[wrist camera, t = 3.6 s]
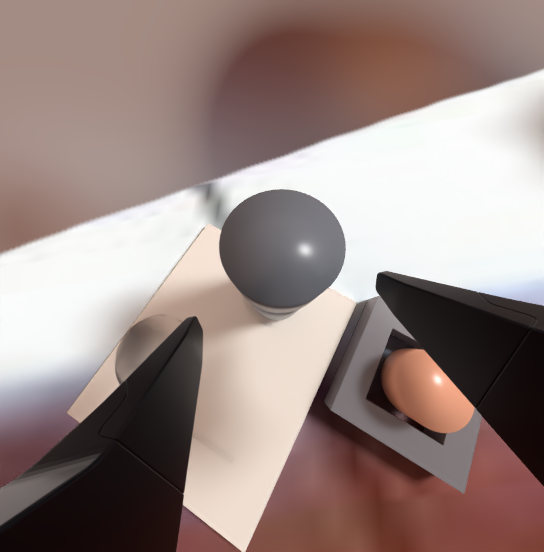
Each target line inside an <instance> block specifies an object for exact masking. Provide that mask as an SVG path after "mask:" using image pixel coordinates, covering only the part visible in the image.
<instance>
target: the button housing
mask: <svg viewBox="0 0 544 552" xmlns="http://www.w3.org/2000/svg"><path fill="white" fill-rule="evenodd" d="M390 334H391V335H393V336H394V337H396V338H398V339H400V340H402V341H404V342H405V343H407V344H409V345H411V346H413V347H415V348H417V349H421V350H424V349H423V348H422V347H421V346H420V345H419V344H418V342H417V341H416V340H415V339H414V338H413V337H412V336H411V334H410V333H409V332H408V331H407V330H406V329H405V328H404V326H403V325H402V324H401V323H400V322H399V321H398V320H397V318H396V317H395V316H394V315H393V313H392V312H391V311H390V309H389V308H388V307H387V305H386V304H385V302H384V301H383V299H382V298H381V297H380V296H377V297H374V298H372V299H369V300H368V301H367V303H366V305H365V308H364V310H363V312H362V315H361V317H360V319H359V322H358V324H357V326H356V328H355V331H354V333H353V335H352V338H351V340H350V342H349V345H348V347H347V349H346V351H345V354H344V356H343V358H342V361H341V363H340V365H339V367H338V370H337V372H336V374H335V377H334V379H333V381H332V384H331V386H330V388H329V390H328V393H327V395H326V397H325V400H324V402H325V404H326V405H327V406H328V407H329V409H330V410H331V411H333V412H334V413H336V414H337V415H339V416H341V417H342V418H344V419H345V420H347V421H349V422H350V423H352V424H353V425H355V426H357V427H358V428H360V429H361V430H363V431H365V432H366V433H368V434H369V435H371V436H373V437H374V438H376V439H377V440H379V441H381V442H382V443H384V444H385V445H387V446H388V447H390V448H392V449H393V450H395V451H396V452H398V453H400V454H401V455H403V456H404V457H406V458H408V459H409V460H411V461H412V462H414V463H416V464H417V465H419V466H420V467H422V468H424V469H425V470H427V471H428V472H430V473H432V474H433V475H435V476H436V477H438V478H440V479H441V480H443V481H444V482H446V483H448V484H449V485H451V486H452V487H454V488H456V489H457V490H459V491H460V492H462V493H464V492H465V488H466V484H467V479H468V475H469V471H470V467H471V462H472V458H473V454H474V449H475V445H476V441H477V436H478V432H479V428H480V424H481V419H482V416H481V414H480V413H479V412H478V411H477V410H476V408H474V412H473V415H472V417H471V419H470V421H469V422H468V424H467V425H466V426H465V427H463V428H462V429H460V430H458V431H456V432H452V433H439V432H435V431H432V430H430V429H428V428H426V427H424V430H423V432H422V431H420V430H418V429H417V428H415V427H413V426H412V425H410V424H408V423H407V422H405V421H403V420H402V419H400V418H398V417H397V416H395V415H393V414H392V413H390V412H388V411H387V410H385V409H383V408H382V407H380V406H378V405H377V404H375V403H373V402H372V401H370V400H368V399H367V398H366V396H367V394H368V391H369V388H370V386H371V383H372V381H373V378H374V375H375V373H376V370H377V368H378V365H379V362H380V360H381V357H382V355H383V352H384V349H385V347H386V344H387V342H388V339H389V336H390Z"/></svg>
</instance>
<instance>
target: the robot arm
mask: <svg viewBox="0 0 544 552" xmlns="http://www.w3.org/2000/svg"><path fill="white" fill-rule="evenodd" d="M376 291H377V292H378V294H379V295H380V297H381V298H382V299H383V301H384V302H385V304H386V305H387V307H388V308H389V309H390V311H391V312H392V313H393V315H394V316H395V317H396V318H397V320H398V321H399V322H400V323H401V324H402V325H403V326H404V328H405V329H406V330H407V331H408V332H409V333H410V334H411V336H412V337H413V338H414V339H415V340H416V341H417V342H418V344H419V345H420V346H421V347H422V348H423V349H424V350H425V352H426V353H427V354H428V355H429V356H430V357H431V358H432V360H433V361H434V362H435V363H436V364H437V365H438V366H439V367H440V369H441V370H442V371H443V372H444V373H445V374H446V375H447V377H448V378H449V379H450V380H451V381H452V382H453V383H454V385H455V386H456V387H457V388H458V389H459V390H460V391H461V393H462V394H463V395H464V396H465V397H466V398H467V399H468V401H469V402H470V403H471V404H472V405H473V406H474V407H475V408H476V410H477V411H478V412H479V413H480V414H481V416H482V417H483V418H484V419H485V420H486V421H487V422H488V424H489V425H490V426H491V427H492V428H493V429H494V430H495V432H496V433H497V434H498V435H499V436H500V437H501V438H502V440H503V441H504V442H505V443H506V444H507V445H508V446H509V448H510V449H511V450H512V451H513V452H514V453H515V454H516V456H517V457H518V458H519V459H520V460H521V461H522V462H523V463H524V465H525V466H526V467H527V468H528V469H529V470H530V471H531V473H532V474H533V475H534V476H535V477H536V478H537V479H538V481H539V482H540V483H541V484H542V485H543V486H544V306H542V305H537V304H532V303H527V302H522V301H517V300H512V299H507V298H503V297H498V296H493V295H489V294H485V293H480V292H479V293H478V292H476V291H471V290H467V289H463V288H458V287H454V286H450V285H445V284H441V283H436V282H432V281H428V280H423V279H419V278H415V277H410V276H406V275H402V274H397V273H393V272H388V271H384V272H380V273H378V274H377V279H376ZM202 361H203V329H202V327H201V325H200V323H199V320H198V318H197V317H196V316H192V317H188V318H186V319H185V320H184V321H183V322H182V323H181V324H180V325H179V326H178V327H177V328H176V329H175V330H174V331H173V332H172V333H171V334H170V335H169V336H168V337H167V338H166V339H165V340H164V341H163V342H162V343H161V344H160V345H159V346H158V347H157V348H156V349H155V350H154V351H153V352H152V353H151V354H150V355H149V356H148V357H147V358H146V359H145V360H144V361H143V362H142V363H141V364H140V365H139V366H138V367H137V368H136V369H135V370H134V371H133V372H132V373H131V374H130V375H129V376H128V378H127V379H126V381H123V382H122V384H121V385H120V386H119V387H118V388H117V389H116V390H115V391H114V392H113V393H112V394H110V395H109V396H108V397H107V398H106V399H105V400H104V401H103V402H102V403H101V404H100V405H99V406H98V407H97V408H96V409H95V410H94V411H93V412H92V413H91V414H89V415H88V416H87V417H86V418H85V419H84V420H83V421H82V422H81V423H80V424H79V425H77V426H76V427H75V428H74V429H73V430H72V431H71V432H70V433H69V434H68V435H66V436H65V437H64V438H63V439H62V440H61V441H60V442H59V443H58V444H57V445H55V446H54V447H53V448H52V449H51V450H50V451H49V452H48V453H47V454H46V455H44V456H43V457H42V458H41V459H40V460H39V461H38V462H37V463H35V464H34V465H33V466H32V467H31V468H29V469H28V470H27V471H26V472H24V473H23V474H22V475H20V476H19V477H17V478H16V479H14V480H13V481H11V482H10V483H8V484H7V485H5V486H3V487H2V488H0V552H176V549H177V542H178V534H179V527H180V520H181V513H182V506H183V499H184V494H183V493H184V491H185V484H186V477H187V470H188V463H189V456H190V448H191V441H192V434H193V427H194V420H195V413H196V406H197V399H198V392H199V385H200V378H201V371H202Z"/></svg>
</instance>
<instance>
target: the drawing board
mask: <svg viewBox="0 0 544 552" xmlns="http://www.w3.org/2000/svg"><path fill="white" fill-rule="evenodd" d="M220 234H221V230H220V229H218V228H216V227H214V226H212V225H210V224H207V226H206V227H205V228H204V230H203V231H202V232H201V234H200V235H199V236H198V238H197V239H196V240H195V242H194V243H193V244H192V246H191V247H190V248H189V250H188V251H187V252H186V254H185V255H184V256H183V258H182V259H181V260H180V262H179V263H178V264H177V266H176V267H175V268H174V270H173V271H172V272H171V274H170V275H169V276H168V278H167V279H166V280H165V282H164V283H163V284H162V286H161V287H160V288H159V290H158V291H157V292H156V294H155V295H154V296H153V298H152V299H151V300H150V302H149V303H148V305H147V306H146V307H145V309H144V310H143V311H142V313H141V314H140V315H139V317H138V318H137V319H136V321H135V322H134V323H133V325H132V326H131V327H130V329H129V330H128V331H127V333H126V334H125V335H124V337H123V338H122V339H121V341H120V342H119V343H118V345H117V346H116V347H115V349H114V350H113V351H112V353H111V354H110V355H109V357H108V358H107V359H106V361H105V362H104V363H103V365H102V366H101V367H100V369H99V370H98V371H97V373H96V374H95V375H94V377H93V378H92V379H91V381H90V382H89V384H88V385H87V386H86V388H85V389H84V390H83V392H82V393H81V394H80V396H79V397H78V398H77V400H76V401H75V402H74V404H73V405H72V406H71V408H70V409H69V410H68V412H67V413H68V414H69V415H70V416H71V417H73V418H74V419H75V420H76V421H78V422H79V423H81V422H82V421H83V420H84V419H85V418H86V417H87V416H88V415H89V414H91V413H92V412H93V411H94V410H95V409H96V408H97V407H98V406H99V405H100V404H101V403H102V402H103V401H104V400H105V399H106V398H107V397H108V396H109V395H110V394H112V393H113V392H114V391H115V390H116V389H117V388H118V387H119V386H120V385H121V384H122V382H123V381H126V379H127V378H128V376H129V375H130V374H131V373H132V372H133V371H134V370H135V369H136V368H137V367H138V366H139V365H140V364H141V363H142V362H143V361H144V360H145V359H146V358H147V357H148V356H149V355H150V354H151V353H152V352H153V351H154V350H155V349H156V348H157V347H158V346H159V345H160V344H161V343H162V342H163V341H164V340H165V339H166V338H167V337H168V336H169V335H170V334H171V333H172V332H173V331H174V330H175V329H176V328H177V327H178V326H179V325H180V324H181V323H182V322H183V321H184V320H185V319H186V318H188V317H192V316H196V317H197V318H198V320H199V323H200V325H201V327H202V329H203V361H202V371H201V378H200V385H199V392H198V399H197V406H196V413H195V420H194V427H193V434H192V441H191V448H190V456H189V463H188V470H187V477H186V484H185V491H184V493H183V494H184V499H183V505H184V506H185V507H186V508H188V509H189V510H190V511H191V512H193V513H194V514H195V515H196V516H198V517H199V518H200V519H202V520H203V521H204V522H205V523H207V524H208V525H209V526H210V527H212V528H213V529H214V530H215V531H217V532H218V533H219V534H220V535H222V536H223V537H224V538H226V539H227V540H228V541H229V542H231V543H232V544H233V545H234V546H236V547H237V548H238V549H239V550H241V551H242V552H245V551H246V549H247V547H248V544H249V542H250V540H251V538H252V535H253V533H254V531H255V529H256V526H257V524H258V522H259V520H260V518H261V515H262V513H263V511H264V509H265V506H266V504H267V502H268V500H269V498H270V495H271V493H272V491H273V489H274V486H275V484H276V482H277V480H278V477H279V475H280V473H281V471H282V469H283V466H284V464H285V462H286V460H287V457H288V455H289V453H290V451H291V449H292V446H293V444H294V442H295V440H296V437H297V435H298V433H299V431H300V429H301V426H302V424H303V422H304V420H305V417H306V415H307V413H308V411H309V408H310V406H311V404H312V402H313V400H314V397H315V395H316V393H317V391H318V388H319V386H320V384H321V382H322V380H323V377H324V375H325V373H326V371H327V368H328V366H329V364H330V362H331V359H332V357H333V355H334V353H335V351H336V348H337V346H338V344H339V342H340V339H341V337H342V335H343V333H344V331H345V328H346V326H347V324H348V322H349V319H350V317H351V315H352V313H353V311H354V308H355V306H356V304H357V302H355V301H353V300H351V299H349V298H347V297H346V296H344V295H342V294H340V293H338V292H336V291H334V290H332V289H330V288H329V287H328V288H327V289H326V290H325V291H324V292H323V293H322V294H320V295H319V296H318V297H317V298H315V299H314V300H313V301H312V302H310V303H309V304H307V305H306V306H305V307H303V308H301V309H299V310H298V311H297V312H296V313H295V314H293V315H292V316H291V317H289V318H287V319H284V320H269V319H266V318H264V317H263V316H261V315H260V314H259V313H258V312H257V311H256V310H255V309H254V307H253V306H252V305H251V303H250V302H249V301H247V300H246V299H245V298H244V296H243V295H242V294H241V293H240V292H239V290H238V289H237V288H236V286H235V285H234V284H233V283H232V281H231V280H230V279H229V277H228V276H227V274H226V272H225V270H224V268H223V266H222V263H221V259H220V253H219V240H220Z"/></svg>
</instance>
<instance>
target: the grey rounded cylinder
mask: <svg viewBox="0 0 544 552" xmlns="http://www.w3.org/2000/svg"><path fill="white" fill-rule="evenodd" d="M345 250H346V248H345V238H344V234H343V231H342V228H341V226H340V224H339V222H338V220H337V218H336V217H335V215H334V214H333V213H332V212H331V211H330V210H329V208H327V207H326V206H325V205H324V204H323V203H321V202H320V201H319V200H317V199H315V198H313V197H312V196H310V195H307V194H305V193H301V192H298V191H293V190H282V189H280V190H270V191H265V192H261V193H258V194H256V195H253V196H251V197H249V198H248V199H246V200H244V201H243V202H242V203H240V204H239V205H238V206H237V207H236V208H235V209H234V210H233V211H232V212H231V213H230V215H229V216H228V218H227V219H226V221H225V223H224V225H223V228H222V231H221V234H220V240H219V253H220V259H221V263H222V266H223V268H224V270H225V272H226V274H227V276H228V277H229V279H230V280H231V281H232V283H233V284H234V285H235V286H236V288H237V289H238V290H239V292H240V293H241V294H242V295H243V296H244V298H245V299H246V300H247V301H249V302H250V303H251V305H252V306H253V307H254V309H255V310H256V311H257V312H258V313H259V314H260V315H261V316H263V317H264V318H266V319H269V320H284V319H287V318H289V317H291V316H292V315H293V314H295V313H296V312H297V311H298V310H299V309H301V308H303V307H305V306H306V305H307V304H309V303H310V302H312V301H313V300H314V299H315V298H317V297H318V296H319V295H320V294H322V293H323V292H324V291H325V290H326V289H327V288H328V287H330V286H331V284H332V283H333V282H334V281H335V279H336V278H337V276H338V275H339V273H340V271H341V268H342V266H343V263H344V259H345Z"/></svg>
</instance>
